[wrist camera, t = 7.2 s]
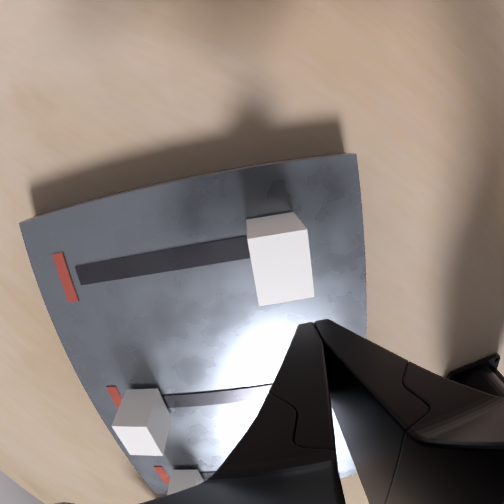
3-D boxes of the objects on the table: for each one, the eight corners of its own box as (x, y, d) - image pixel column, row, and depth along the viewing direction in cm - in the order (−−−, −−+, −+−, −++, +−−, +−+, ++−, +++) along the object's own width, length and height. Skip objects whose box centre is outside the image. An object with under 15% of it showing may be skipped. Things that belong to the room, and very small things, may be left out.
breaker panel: (344, 152, 18) (356, 153, 16) (351, 459, 26) (356, 475, 24) (35, 216, 18) (18, 223, 16) (157, 479, 27) (154, 494, 25)
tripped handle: (293, 212, 16) (307, 229, 13) (300, 267, 17) (314, 296, 14) (246, 219, 16) (247, 238, 13) (255, 274, 17) (259, 306, 14)
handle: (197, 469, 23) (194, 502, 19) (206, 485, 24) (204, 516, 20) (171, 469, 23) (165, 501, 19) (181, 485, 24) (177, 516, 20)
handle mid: (157, 388, 20) (146, 426, 16) (171, 418, 20) (163, 455, 17) (126, 389, 20) (111, 426, 16) (141, 418, 21) (130, 454, 17)
